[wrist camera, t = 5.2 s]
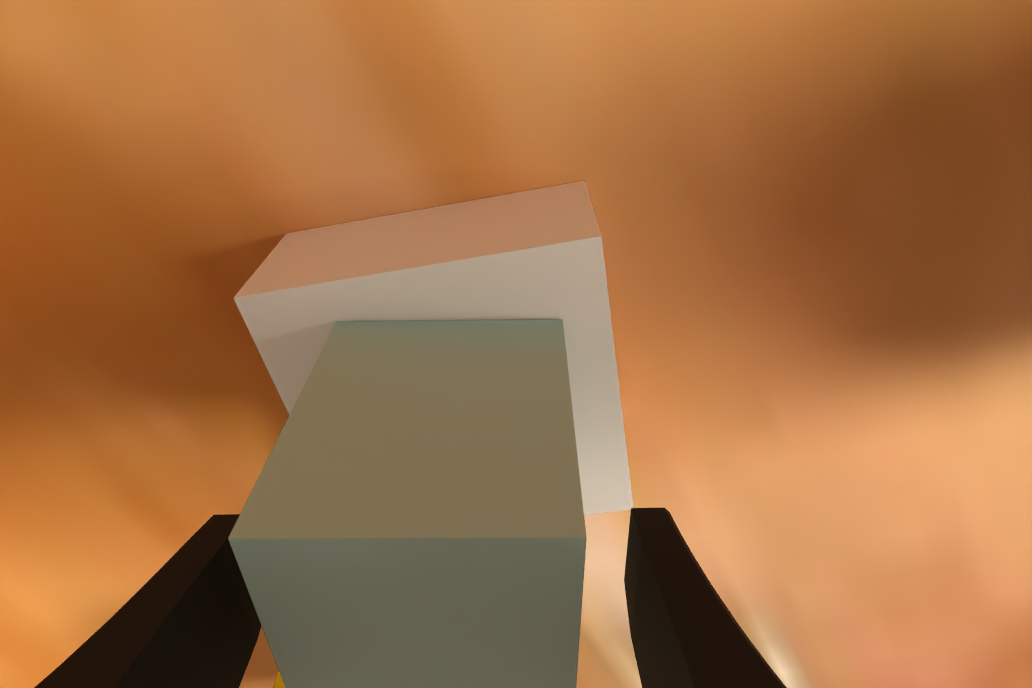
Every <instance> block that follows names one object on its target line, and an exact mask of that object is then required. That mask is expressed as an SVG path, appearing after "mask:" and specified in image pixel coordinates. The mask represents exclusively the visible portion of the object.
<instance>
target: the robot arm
mask: <svg viewBox="0 0 1032 688" xmlns="http://www.w3.org/2000/svg"><path fill="white" fill-rule="evenodd" d="M239 516H240V514H235V515H213V516H212V517H211V518H210V519H209V520H208V521H207V522H206V523H205V524H204V525H203V526H202V527H201V528H200V529H199V530H198V531H197V532H196V533H195V534H194V535H193V536H192V537H191V538H190V539H189V540H188V541H187V542H186V543H185V544H184V545H183V546H182V547H181V548H180V549H179V550H178V551H177V552H176V553H175V555H174V556H173V557H172V558H171V559H170V560H169V561H168V562H167V563H166V564H165V565H164V566H163V567H162V568H161V569H160V570H159V571H158V572H157V573H156V574H155V575H154V576H153V577H152V578H151V579H150V580H149V581H148V582H147V583H146V584H145V585H144V586H143V587H142V588H141V589H140V590H139V591H138V592H137V593H136V594H135V595H134V596H133V597H132V598H131V599H130V600H129V601H128V602H127V603H126V604H125V605H124V606H123V607H122V608H121V609H120V610H119V611H118V612H117V613H116V614H115V615H114V616H113V617H112V618H110V619H109V620H108V621H107V622H106V623H105V624H104V625H103V626H102V627H101V628H100V629H99V630H98V631H97V632H96V633H94V634H93V635H92V636H91V637H90V638H89V639H88V640H87V641H86V642H85V643H84V644H83V645H81V646H80V647H79V648H78V649H77V650H76V651H75V652H74V653H73V654H72V655H71V656H70V657H68V658H67V659H66V660H65V661H64V662H63V663H62V664H61V665H60V666H59V667H58V668H56V669H55V670H54V671H53V672H52V673H51V674H50V675H48V676H47V677H46V678H45V679H44V680H43V681H42V682H40V683H39V684H38V685H37V686H36V687H34V688H239V686H240V683H241V681H242V678H243V675H244V673H245V670H246V668H247V665H248V663H249V660H250V658H251V655H252V652H253V650H254V647H255V645H256V642H257V639H258V636H259V632H260V628H261V623H260V620H259V617H258V615H257V612H256V610H255V607H254V604H253V602H252V599H251V597H250V594H249V592H248V589H247V586H246V584H245V581H244V579H243V576H242V573H241V571H240V568H239V566H238V563H237V560H236V558H235V555H234V553H233V550H232V547H231V545H230V542H229V540H228V538H229V536H230V534H231V532H232V530H233V528H234V526H235V524H236V522H237V520H238V518H239ZM624 582H625V591H626V600H627V608H628V617H629V624H630V632H631V638H632V643H633V648H634V652H635V657H636V661H637V666H638V670H639V675H640V679H641V684H642V688H786V686H785V685H784V684H783V683H782V681H781V680H780V679H779V678H778V676H777V675H776V674H775V673H774V671H773V670H772V669H771V667H770V666H769V665H768V664H767V662H766V661H765V660H764V658H763V657H762V656H761V654H760V653H759V652H758V650H757V649H756V648H755V646H754V645H753V644H752V642H751V641H750V640H749V638H748V637H747V636H746V634H745V633H744V631H743V630H742V629H741V627H740V626H739V624H738V623H737V622H736V620H735V619H734V617H733V616H732V614H731V613H730V611H729V610H728V608H727V607H726V605H725V604H724V603H723V601H722V600H721V598H720V597H719V595H718V594H717V592H716V591H715V589H714V588H713V586H712V585H711V583H710V581H709V580H708V578H707V577H706V575H705V574H704V572H703V570H702V569H701V567H700V566H699V564H698V562H697V561H696V559H695V557H694V556H693V554H692V552H691V551H690V549H689V547H688V545H687V544H686V542H685V540H684V538H683V537H682V535H681V533H680V531H679V529H678V528H677V526H676V524H675V522H674V520H673V518H672V516H671V514H670V512H669V511H668V510H666V509H665V508H631V516H630V526H629V536H628V546H627V557H626V567H625V577H624Z"/></svg>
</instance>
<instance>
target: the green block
mask: <svg viewBox="0 0 1032 688" xmlns="http://www.w3.org/2000/svg"><path fill="white" fill-rule="evenodd" d="M228 540H229V542H230V545H231V547H232V550H233V553H234V555H235V558H236V560H237V563H238V566H239V568H240V571H241V573H242V576H243V579H244V581H245V584H246V586H247V589H248V592H249V594H250V597H251V599H252V602H253V604H254V607H255V610H256V612H257V615H258V617H259V620H260V623H261V625H262V628H263V630H264V633H265V636H266V638H267V641H268V643H269V646H270V649H271V651H272V654H273V656H274V659H275V662H276V664H277V667H278V669H279V672H280V675H281V677H282V680H283V682H284V685H285V688H576V682H577V667H578V653H579V638H580V624H581V609H582V594H583V580H584V565H585V550H586V530H585V520H584V511H583V502H582V493H581V483H580V474H579V465H578V456H577V447H576V437H575V428H574V419H573V410H572V400H571V391H570V382H569V373H568V364H567V354H566V345H565V336H564V327H563V320H449V321H336V322H335V324H334V326H333V328H332V330H331V332H330V334H329V336H328V338H327V341H326V343H325V345H324V347H323V349H322V351H321V353H320V355H319V357H318V359H317V361H316V363H315V365H314V367H313V369H312V371H311V373H310V375H309V377H308V379H307V381H306V383H305V385H304V387H303V389H302V391H301V393H300V395H299V397H298V399H297V401H296V403H295V405H294V407H293V409H292V411H291V413H290V415H289V417H288V419H287V421H286V423H285V425H284V427H283V429H282V431H281V433H280V435H279V437H278V439H277V441H276V443H275V445H274V447H273V449H272V451H271V453H270V455H269V457H268V459H267V461H266V463H265V465H264V467H263V469H262V471H261V473H260V475H259V477H258V479H257V481H256V483H255V485H254V487H253V489H252V491H251V493H250V495H249V497H248V499H247V501H246V503H245V506H244V508H243V510H242V512H241V514H240V516H239V518H238V520H237V522H236V524H235V526H234V528H233V530H232V532H231V534H230V536H229V538H228Z"/></svg>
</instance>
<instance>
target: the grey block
mask: <svg viewBox="0 0 1032 688" xmlns="http://www.w3.org/2000/svg"><path fill="white" fill-rule="evenodd" d="M234 301H235V303H236V305H237V307H238V309H239V311H240V313H241V315H242V317H243V319H244V322H245V324H246V326H247V328H248V330H249V332H250V334H251V336H252V338H253V340H254V342H255V345H256V347H257V349H258V351H259V353H260V355H261V357H262V359H263V361H264V363H265V366H266V368H267V370H268V372H269V374H270V376H271V378H272V380H273V382H274V384H275V387H276V389H277V391H278V393H279V395H280V397H281V399H282V401H283V403H284V405H285V408H286V410H287V412H288V414H289V415H290V413H291V411H292V409H293V407H294V405H295V403H296V401H297V399H298V397H299V395H300V393H301V391H302V389H303V387H304V385H305V383H306V381H307V379H308V377H309V375H310V373H311V371H312V369H313V367H314V365H315V363H316V361H317V359H318V357H319V355H320V353H321V351H322V349H323V347H324V345H325V343H326V341H327V338H328V336H329V334H330V332H331V330H332V328H333V326H334V324H335V322H336V321H449V320H563V327H564V336H565V345H566V354H567V364H568V373H569V382H570V391H571V400H572V410H573V419H574V428H575V437H576V447H577V456H578V465H579V474H580V483H581V493H582V502H583V511H584V515H590V514H598V513H606V512H614V511H622V510H630V509H631V508H633V501H632V492H631V484H630V475H629V467H628V458H627V450H626V441H625V432H624V424H623V415H622V407H621V398H620V390H619V381H618V373H617V364H616V356H615V347H614V338H613V330H612V321H611V313H610V304H609V296H608V287H607V279H606V270H605V262H604V253H603V244H602V236H601V233H600V229H599V226H598V222H597V219H596V215H595V212H594V208H593V205H592V202H591V198H590V195H589V191H588V188H587V184H586V181H579V182H573V183H568V184H562V185H557V186H551V187H545V188H540V189H534V190H528V191H523V192H517V193H511V194H506V195H500V196H494V197H489V198H483V199H478V200H472V201H466V202H461V203H455V204H449V205H444V206H438V207H432V208H427V209H421V210H415V211H410V212H404V213H398V214H393V215H387V216H382V217H376V218H370V219H365V220H359V221H353V222H348V223H342V224H336V225H331V226H325V227H319V228H314V229H308V230H303V231H297V232H291V233H286V235H285V236H284V237H283V238H282V239H281V241H280V242H279V243H278V244H277V245H276V247H275V248H274V249H273V250H272V252H271V253H270V254H269V255H268V256H267V258H266V259H265V260H264V261H263V262H262V264H261V265H260V266H259V267H258V269H257V270H256V271H255V272H254V273H253V275H252V276H251V277H250V278H249V279H248V281H247V282H246V283H245V284H244V285H243V287H242V288H241V289H240V290H239V292H238V293H237V294H236V295H235V296H234Z"/></svg>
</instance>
